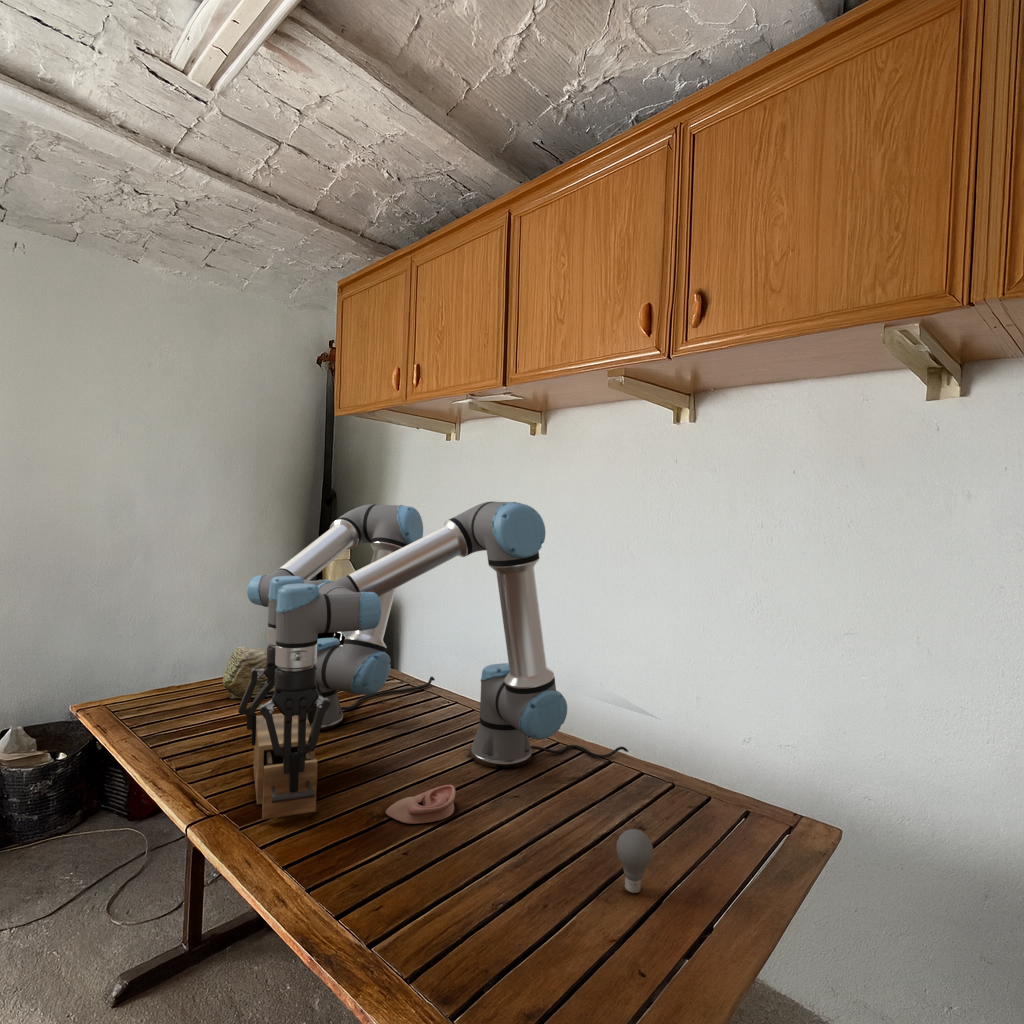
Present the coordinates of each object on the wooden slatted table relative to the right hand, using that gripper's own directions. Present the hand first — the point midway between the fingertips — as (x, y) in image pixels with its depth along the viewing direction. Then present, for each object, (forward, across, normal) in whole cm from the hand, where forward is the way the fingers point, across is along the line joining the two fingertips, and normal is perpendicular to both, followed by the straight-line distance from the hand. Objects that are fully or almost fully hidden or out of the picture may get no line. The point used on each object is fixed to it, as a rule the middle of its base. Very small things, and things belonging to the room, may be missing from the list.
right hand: (293, 788), depth 121 cm
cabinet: (+8, 0, +21) cm, 22 cm away
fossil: (+8, -4, +86) cm, 87 cm away
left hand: (0, 0, +26) cm, 26 cm away
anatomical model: (+8, +25, -2) cm, 26 cm away
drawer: (+7, 0, +9) cm, 11 cm away
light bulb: (+8, +50, -39) cm, 64 cm away
